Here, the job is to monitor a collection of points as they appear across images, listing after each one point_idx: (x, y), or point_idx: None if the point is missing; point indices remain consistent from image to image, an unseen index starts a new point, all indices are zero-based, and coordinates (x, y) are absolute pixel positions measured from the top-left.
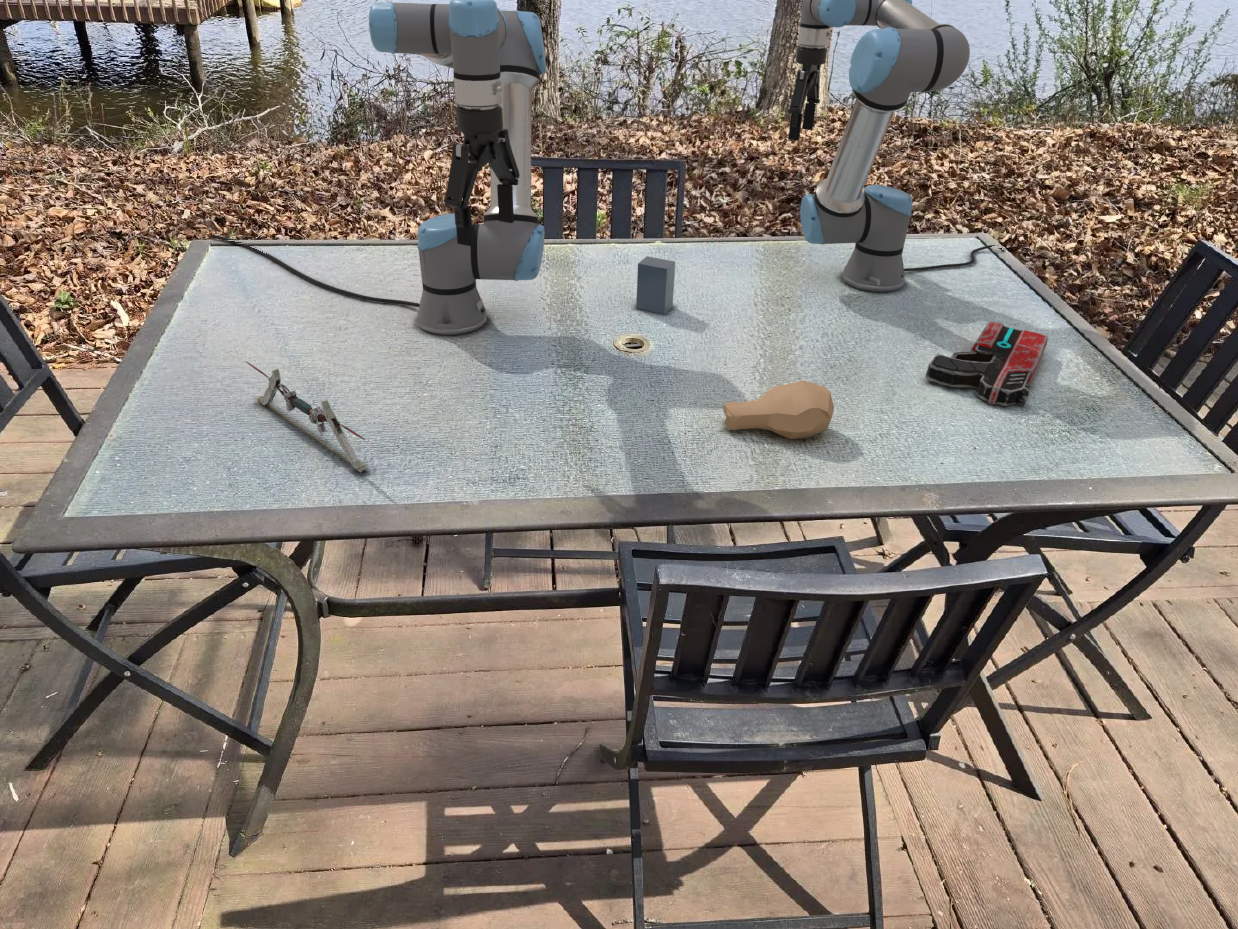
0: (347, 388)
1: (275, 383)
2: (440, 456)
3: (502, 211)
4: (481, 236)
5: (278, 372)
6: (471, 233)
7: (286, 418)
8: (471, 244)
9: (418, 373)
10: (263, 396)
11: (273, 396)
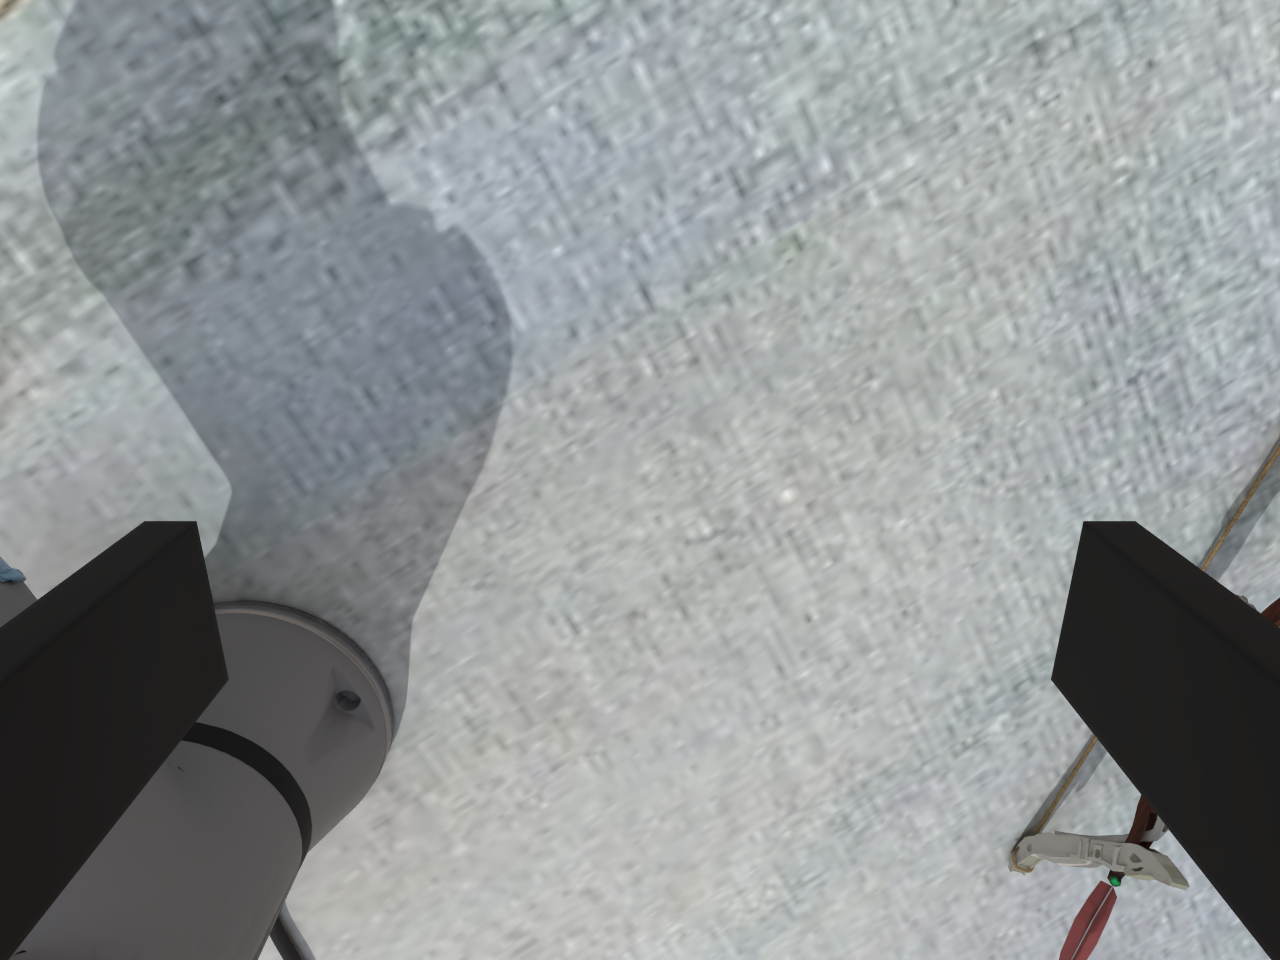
0: (852, 721)
1: (1155, 850)
2: (1158, 208)
3: (153, 706)
4: None
5: (1169, 871)
6: (1195, 590)
7: (1089, 751)
8: (1136, 527)
9: (666, 596)
10: (1015, 867)
11: (1064, 837)
